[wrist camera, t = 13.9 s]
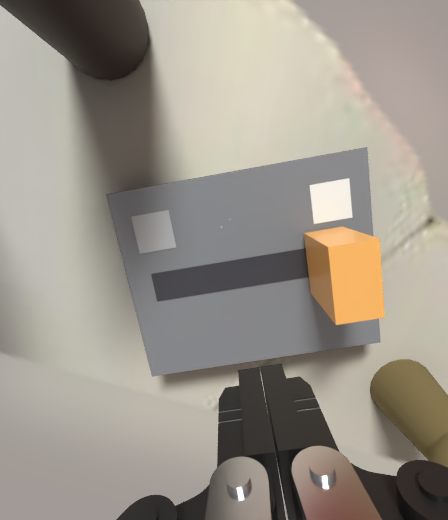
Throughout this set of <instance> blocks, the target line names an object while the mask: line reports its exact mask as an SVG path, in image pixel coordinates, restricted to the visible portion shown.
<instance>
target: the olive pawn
mask: <svg viewBox="0 0 448 520" xmlns="http://www.w3.org/2000/svg"><path fill="white" fill-rule="evenodd" d="M370 393H371V397H372V399H373V401H374V402H375V404H376V405H377V406H378V407H379V408H380V409H381V410H382V411H383V413H384V414H385V415H386V416H387V417H388V418H389V419H390V420H391V421H392V422H393V423H394V424H395V425H396V426H397V427H398V428H399V429H400V431H401V432H402V433H403V434H404V435H405V436H406V437H407V438H408V439H409V440H410V441H411V442H412V443H413V444H414V445H415V446H416V447H417V448H418V450H419V451H420V452H421V453H422V454H423V455H424V456H425V457H426V458H427V459H428V461H431V462H435V463H438V464H441V465H443V466H445V467H448V395H447V394H446V392H445V391H444V390H443V389H442V387H441V386H440V385H439V384H438V382H437V381H436V380H435V379H434V377H433V376H432V375H431V374H430V372H429V371H428V370H427V369H426V368H425V367H424V366H423V365H421V364H420V363H419V362H415V361H412V360H396V361H393V362H390V363H388V364H386V365H385V366H383V367H381V368H380V369H379V370H378V372H377V373H376V374H375V375H374V377H373V379H372V381H371V387H370Z"/></svg>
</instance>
